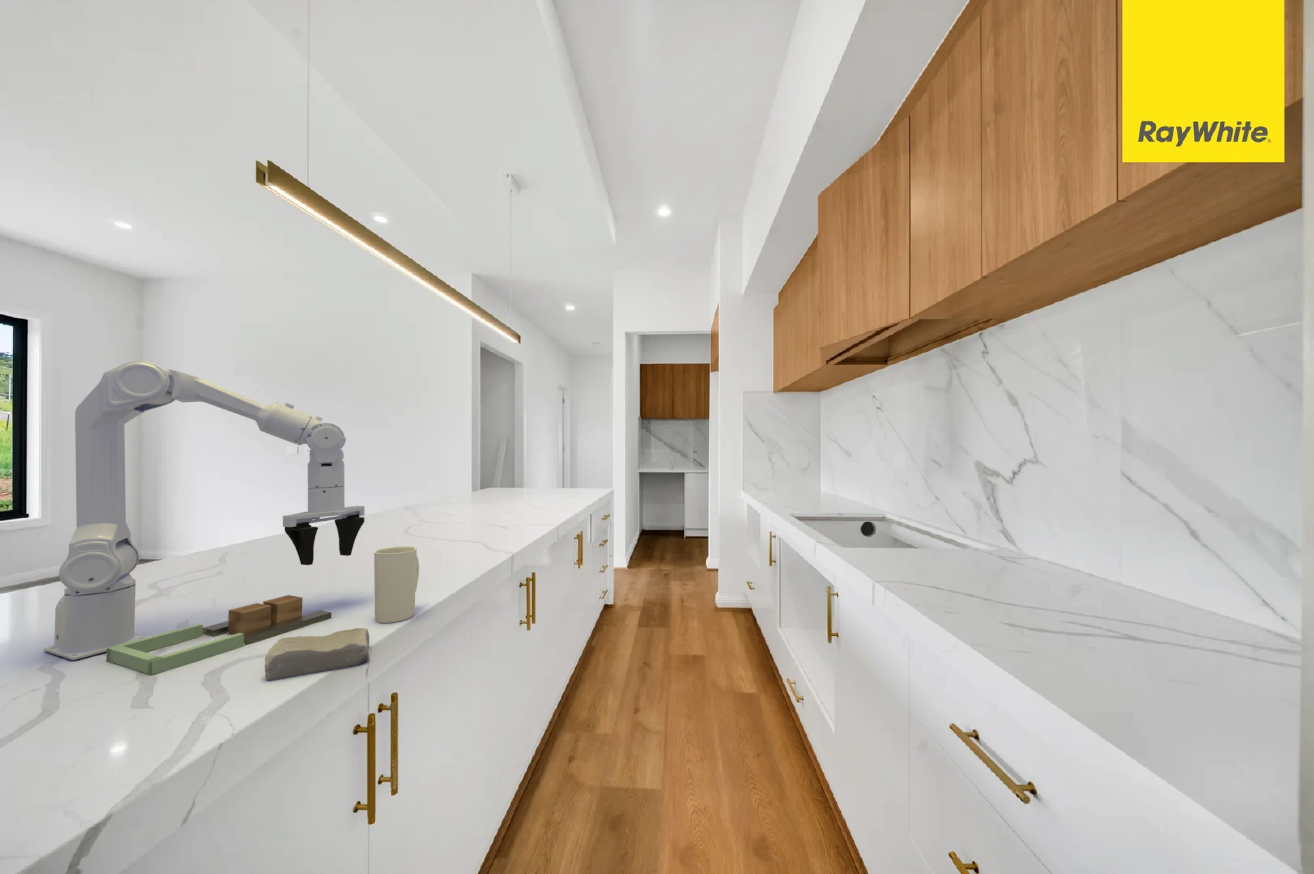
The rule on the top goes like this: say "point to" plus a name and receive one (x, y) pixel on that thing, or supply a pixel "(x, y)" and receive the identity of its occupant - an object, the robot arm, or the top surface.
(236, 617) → the walnut chip front
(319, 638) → the stone block
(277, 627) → the slot rails
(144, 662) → the tray
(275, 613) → the block
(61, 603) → the robot arm
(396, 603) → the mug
